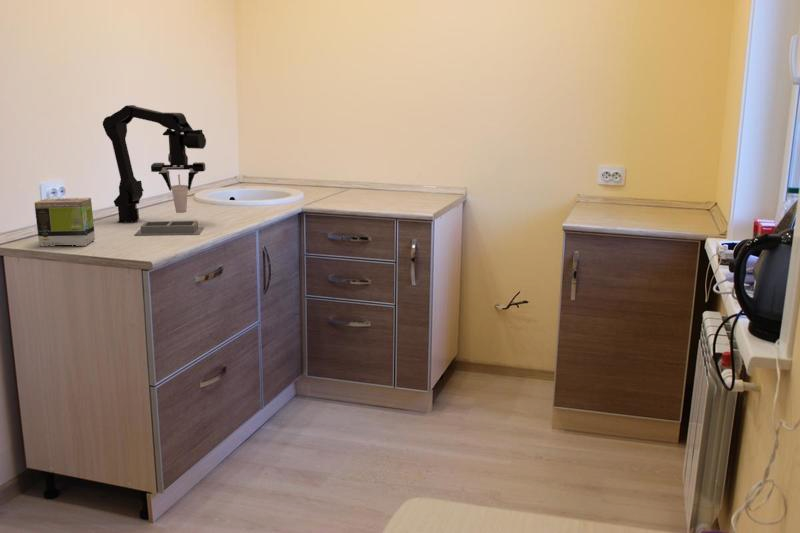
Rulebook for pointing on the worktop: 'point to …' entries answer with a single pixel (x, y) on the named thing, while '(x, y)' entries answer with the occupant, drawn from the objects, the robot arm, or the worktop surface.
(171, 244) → the worktop surface
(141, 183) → the robot arm
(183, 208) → the smoothie
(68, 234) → the tea box
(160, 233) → the bottle carrier
